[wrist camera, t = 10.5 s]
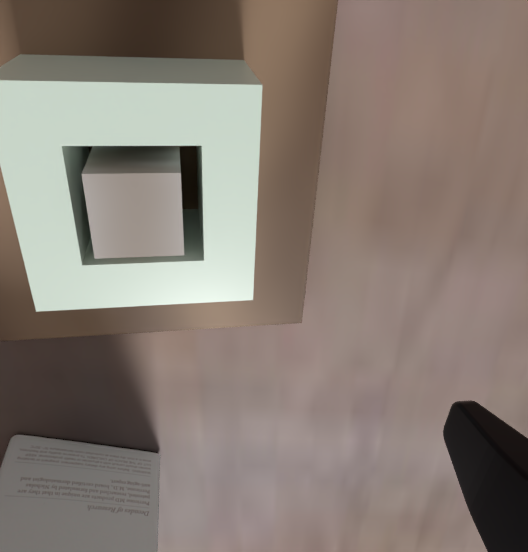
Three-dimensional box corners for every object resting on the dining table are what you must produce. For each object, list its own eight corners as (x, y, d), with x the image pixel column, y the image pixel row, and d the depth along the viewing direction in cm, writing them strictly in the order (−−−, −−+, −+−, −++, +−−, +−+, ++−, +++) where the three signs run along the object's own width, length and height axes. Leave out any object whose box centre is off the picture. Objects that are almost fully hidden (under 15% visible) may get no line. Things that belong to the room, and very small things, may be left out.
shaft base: (335, -82, 14) (406, -100, 10) (295, 306, 22) (326, 391, 18) (-120, -116, 13) (-272, -156, 8) (6, 322, 20) (-39, 422, 16)
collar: (243, 60, 15) (262, 84, 12) (239, 244, 18) (253, 300, 15) (19, 54, 14) (-22, 79, 11) (58, 251, 17) (35, 311, 14)
